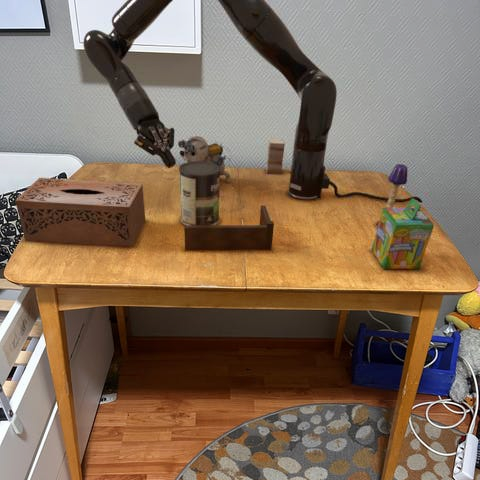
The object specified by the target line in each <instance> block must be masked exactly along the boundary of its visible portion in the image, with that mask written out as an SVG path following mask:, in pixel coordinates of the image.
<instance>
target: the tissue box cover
mask: <svg viewBox="0 0 480 480" xmlns="http://www.w3.org/2000/svg"><path fill="white" fill-rule="evenodd" d="M14 201H15V205H16V209H17V213H18V214H17V215H18V218H19V221H20V225H21V229H22V233H23V237H24V241H26V242H27V241H28V242H41V243H58V244H60V243H62V244H76V245H77V244H78V245H79V244H80V245H94V246H111V247H112V246H113V247H126V248H127V247H128V248H129V247H130V248H134V246H135V245H136V242H137V241H138V239H139V236H140V234H141V232H142V230H143V227H144V225H145V223H146V210H145V199H144V186H143V183H136V182H120V181H119V182H118V181H100V180H85V179H84V180H83V179H82V180H81V179H68V178H51V177H50V178H49V177H39V178H37V179H36V180H35V181H34V182H32V184H31V185H29V187H28V188H27V189H26V190H24V191H23V192H22V193H21V194H20V195H19V196H18V197H17V198H16V199H15V200H14Z"/></svg>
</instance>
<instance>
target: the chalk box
mask: <svg viewBox="0 0 480 480" xmlns="http://www.w3.org/2000/svg"><path fill="white" fill-rule="evenodd" d="M412 206H413V207H412ZM379 220H380V221H379ZM379 220H378V221H379V224H378V227H377V228H376V232H375V236H374V239H373V243H372V247H371V252H372V253H373V255H374V256H375V258H376V260H377V261H378V263H379V264H380V266H381V267H382V269H383V270H396V269H397V270H420V268H421V265H422V262H423V259H424V256H425V253H426V250H427V247H428V245H429V241H430V239H431V236H432V233H433V230H434V226H435V225H434V223H433V222H432V220H431V219H430V218H429V217H428V216H427V214H425V212H424V211H423V210H421V204H420V203H419V202H418V201H417V200H414V199H413V198H412V199H411V200H410V201H408V204H407V205H406V207H393V208H386V206H384V207H382V210H381V213H380V217H379Z"/></svg>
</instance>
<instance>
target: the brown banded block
mask: <svg viewBox="0 0 480 480" xmlns="http://www.w3.org/2000/svg"><path fill="white" fill-rule="evenodd" d="M285 143H286V142H285V140H284V139H279V138H269V139H268V145H267V154H266V156H267V158H266V163H265V164H266V166H265V172H266V174H276V175H281V174H282V170H283V169H282V168H283V162H284V161H283V159H284V155H285V154H284V153H285V145H286V144H285Z"/></svg>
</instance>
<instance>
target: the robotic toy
mask: <svg viewBox="0 0 480 480" xmlns="http://www.w3.org/2000/svg"><path fill="white" fill-rule="evenodd" d="M177 145H178V147H179V149H182V150H180V151H179V158H182V159H183V161H186V163H187V162H195V161H202V162H210V163H213V164H216V165H218V166H219V167H220V176H225V182H226V183H229V182H230V180H231V175H230V173H229V171H228V170H225V169H226V165H225V160H226V159H228V160H229V161H228V163H230V162H231V158H232V156H230V158H229V157H227V156H226V155H223V152H224V146H223V145H222V143H220V144H218V143H217V142H214V143H211V144H208V142H207V141H206V139H205V138H203V137H202V136H199V135H192V136H189V137H188V138H187V139H186V140H185V139H183V138H182V139H181V140H178V142H177ZM227 150H228V151H229V152H231V150H229V149H228V148H227ZM222 155H223V156H222Z"/></svg>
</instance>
